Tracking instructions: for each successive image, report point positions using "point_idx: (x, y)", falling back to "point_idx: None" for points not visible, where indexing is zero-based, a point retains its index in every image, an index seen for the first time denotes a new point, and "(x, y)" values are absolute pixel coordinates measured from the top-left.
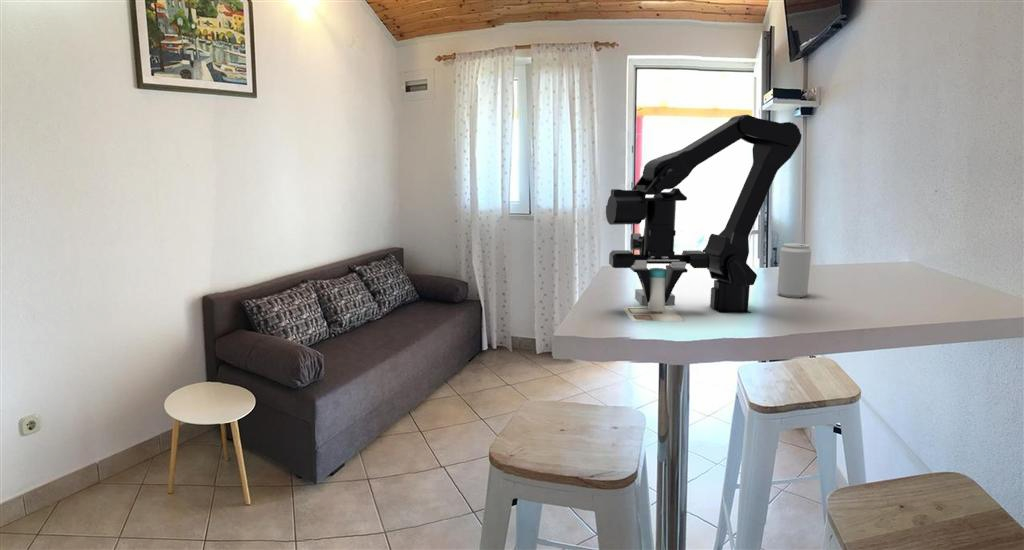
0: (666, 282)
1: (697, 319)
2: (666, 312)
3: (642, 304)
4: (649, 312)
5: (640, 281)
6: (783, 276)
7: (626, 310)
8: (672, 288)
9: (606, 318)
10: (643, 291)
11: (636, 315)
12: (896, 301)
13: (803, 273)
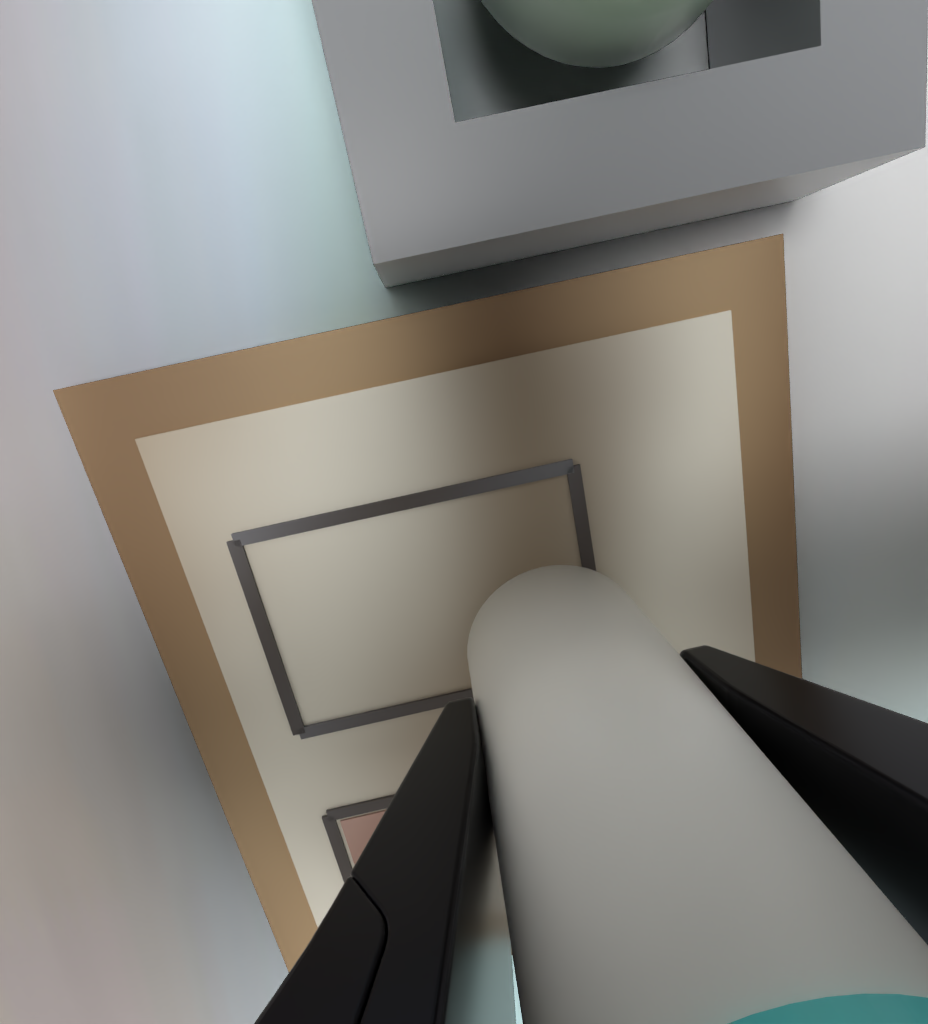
0: (914, 895)
1: (894, 695)
2: (655, 619)
3: (397, 281)
4: None
5: (310, 957)
6: None
7: (230, 630)
8: None
9: (87, 858)
10: (403, 789)
11: (355, 813)
12: None
13: None
